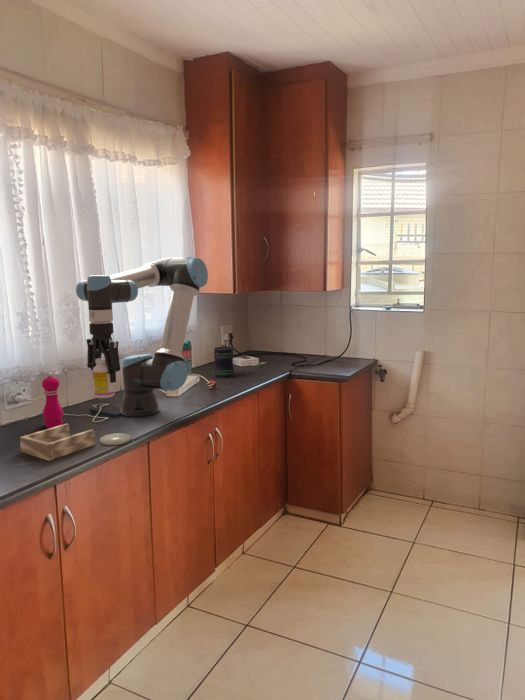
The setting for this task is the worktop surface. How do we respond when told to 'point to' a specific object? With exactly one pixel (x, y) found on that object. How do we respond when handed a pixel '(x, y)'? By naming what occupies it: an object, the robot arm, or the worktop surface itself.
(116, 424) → the worktop surface
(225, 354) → the dark blue canister
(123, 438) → the sage green dome
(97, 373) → the supplement bottle
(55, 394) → the pepper mill
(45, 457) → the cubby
